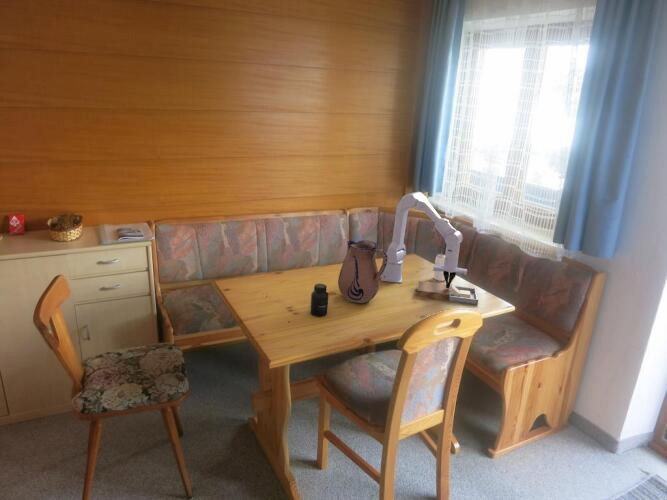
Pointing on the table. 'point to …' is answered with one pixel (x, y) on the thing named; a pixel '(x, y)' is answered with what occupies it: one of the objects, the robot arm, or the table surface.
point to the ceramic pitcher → (361, 272)
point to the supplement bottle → (319, 301)
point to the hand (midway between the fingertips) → (447, 287)
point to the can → (439, 262)
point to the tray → (472, 300)
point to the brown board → (433, 291)
